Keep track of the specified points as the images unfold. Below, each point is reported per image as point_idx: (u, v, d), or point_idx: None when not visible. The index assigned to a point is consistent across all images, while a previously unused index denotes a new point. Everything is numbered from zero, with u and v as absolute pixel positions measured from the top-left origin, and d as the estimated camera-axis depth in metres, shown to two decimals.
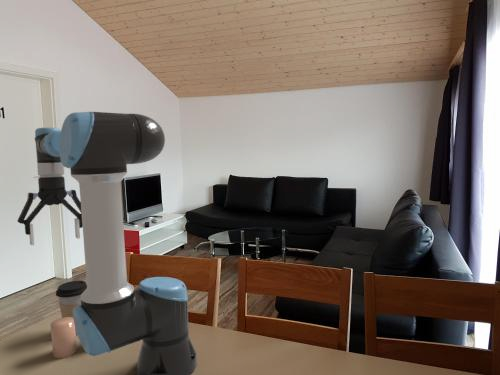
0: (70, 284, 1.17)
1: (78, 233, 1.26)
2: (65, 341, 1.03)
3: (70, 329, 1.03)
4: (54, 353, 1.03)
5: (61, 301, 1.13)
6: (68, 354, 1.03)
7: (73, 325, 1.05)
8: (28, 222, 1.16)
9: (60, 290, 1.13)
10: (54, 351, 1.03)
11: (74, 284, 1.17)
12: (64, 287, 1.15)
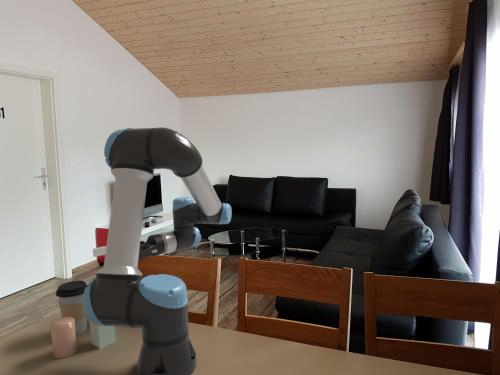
0: (70, 284, 1.17)
1: None
2: (65, 341, 1.03)
3: (70, 329, 1.03)
4: (54, 353, 1.03)
5: (61, 301, 1.13)
6: (68, 354, 1.03)
7: (73, 325, 1.05)
8: None
9: (60, 290, 1.13)
10: (54, 351, 1.03)
11: (74, 284, 1.17)
12: (64, 287, 1.15)
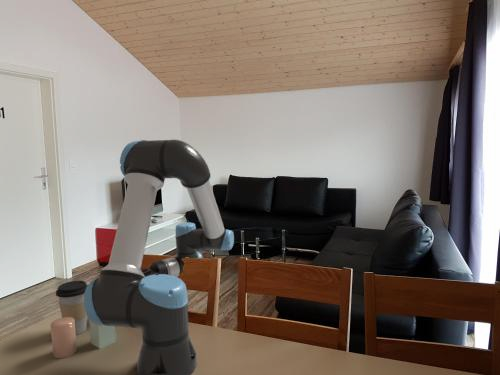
0: (70, 284, 1.17)
1: None
2: (65, 341, 1.03)
3: (70, 329, 1.03)
4: (54, 353, 1.03)
5: (61, 301, 1.13)
6: (68, 354, 1.03)
7: (73, 325, 1.05)
8: None
9: (60, 290, 1.13)
10: (54, 351, 1.03)
11: (74, 284, 1.17)
12: (64, 287, 1.14)
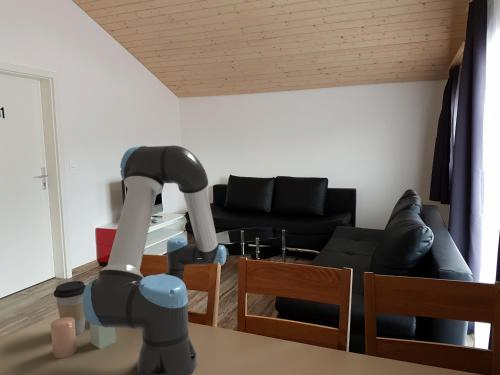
0: (68, 284, 1.17)
1: None
2: (66, 341, 1.03)
3: (70, 329, 1.03)
4: (54, 353, 1.03)
5: (59, 301, 1.13)
6: (68, 354, 1.03)
7: (73, 325, 1.05)
8: None
9: (58, 290, 1.12)
10: (54, 351, 1.03)
11: (72, 285, 1.16)
12: (62, 287, 1.14)
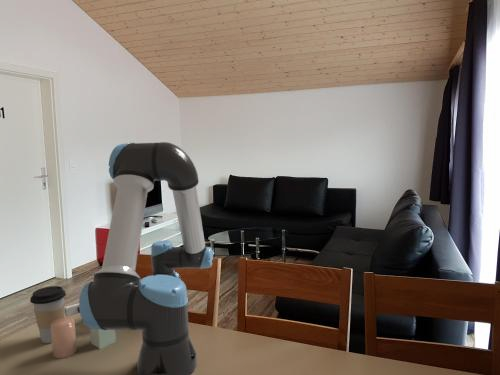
0: (46, 290, 1.13)
1: (71, 306, 1.16)
2: (65, 341, 1.03)
3: (70, 329, 1.03)
4: (54, 353, 1.03)
5: (35, 307, 1.09)
6: (68, 354, 1.03)
7: (73, 325, 1.05)
8: None
9: (33, 296, 1.09)
10: (54, 351, 1.03)
11: (50, 290, 1.12)
12: (39, 293, 1.10)
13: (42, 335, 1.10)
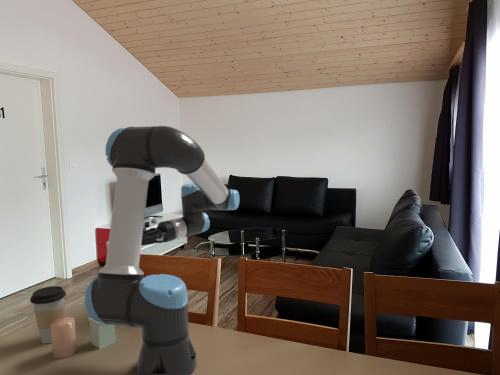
0: (47, 290, 1.13)
1: None
2: (65, 341, 1.03)
3: (70, 329, 1.03)
4: (54, 353, 1.03)
5: (35, 307, 1.09)
6: (68, 354, 1.03)
7: (73, 325, 1.05)
8: None
9: (33, 296, 1.09)
10: (54, 351, 1.03)
11: (50, 290, 1.12)
12: (39, 293, 1.10)
13: (42, 335, 1.10)
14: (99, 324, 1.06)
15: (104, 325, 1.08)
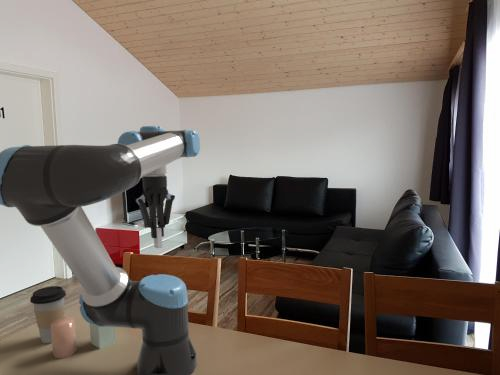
0: (47, 290, 1.13)
1: (160, 242, 1.21)
2: (66, 341, 1.03)
3: (70, 329, 1.03)
4: (54, 353, 1.03)
5: (35, 307, 1.09)
6: (68, 354, 1.03)
7: (73, 325, 1.05)
8: (155, 226, 1.20)
9: (33, 296, 1.09)
10: (54, 351, 1.03)
11: (50, 290, 1.12)
12: (39, 293, 1.10)
13: (42, 335, 1.10)
14: None
15: None
